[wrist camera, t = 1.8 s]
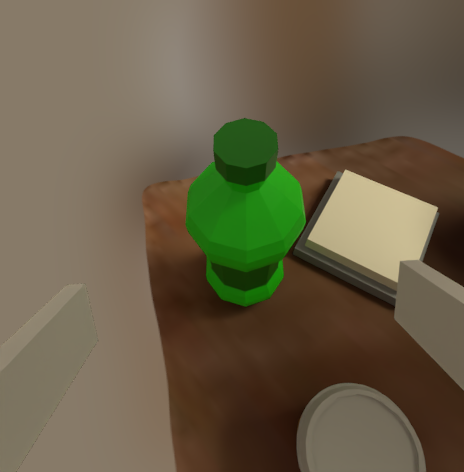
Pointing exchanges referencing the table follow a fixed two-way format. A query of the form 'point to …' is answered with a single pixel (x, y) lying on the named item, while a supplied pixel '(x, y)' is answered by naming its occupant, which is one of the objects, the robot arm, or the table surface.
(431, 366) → the table surface
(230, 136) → the plastic bottle
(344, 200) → the stepped plinth
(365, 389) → the disposable coffee cup
